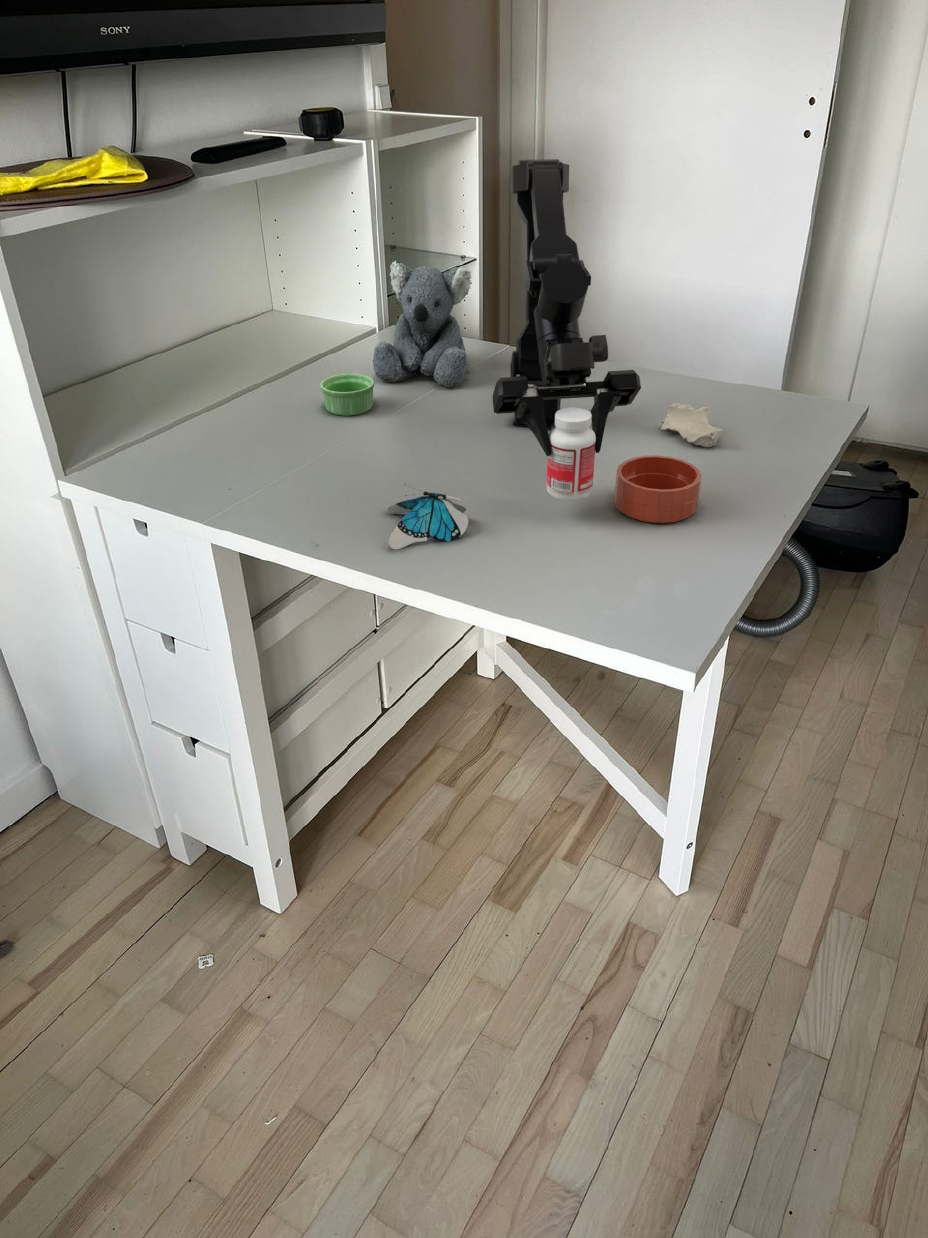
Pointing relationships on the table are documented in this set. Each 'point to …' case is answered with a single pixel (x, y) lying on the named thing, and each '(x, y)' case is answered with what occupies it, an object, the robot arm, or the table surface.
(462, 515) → the decorative butterfly
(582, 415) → the pill bottle
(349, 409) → the ramekin
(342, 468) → the table surface
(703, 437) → the coral
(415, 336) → the koala plush
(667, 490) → the bowl
